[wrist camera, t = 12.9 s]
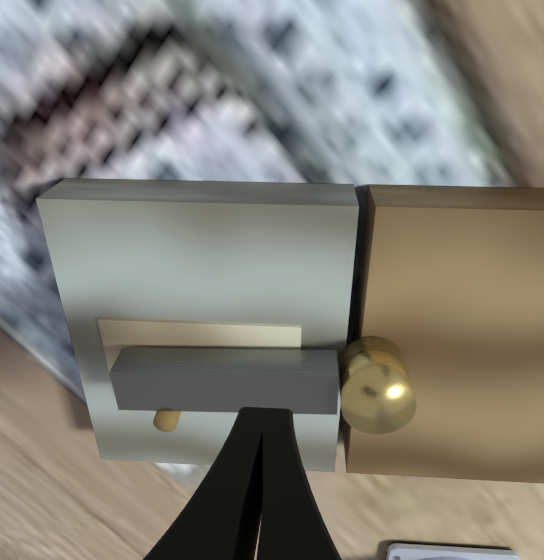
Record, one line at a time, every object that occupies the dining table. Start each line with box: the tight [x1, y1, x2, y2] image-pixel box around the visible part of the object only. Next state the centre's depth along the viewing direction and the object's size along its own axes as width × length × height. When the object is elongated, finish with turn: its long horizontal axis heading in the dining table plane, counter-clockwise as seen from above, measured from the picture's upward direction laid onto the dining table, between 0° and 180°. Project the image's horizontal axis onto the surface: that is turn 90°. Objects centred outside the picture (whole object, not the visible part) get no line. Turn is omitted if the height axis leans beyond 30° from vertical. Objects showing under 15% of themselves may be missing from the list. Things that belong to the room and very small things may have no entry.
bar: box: [109, 337, 417, 434], centre depth 20 cm, size 12×3×3 cm, turn 92°
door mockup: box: [36, 178, 544, 483], centre depth 21 cm, size 14×24×5 cm, turn 90°
